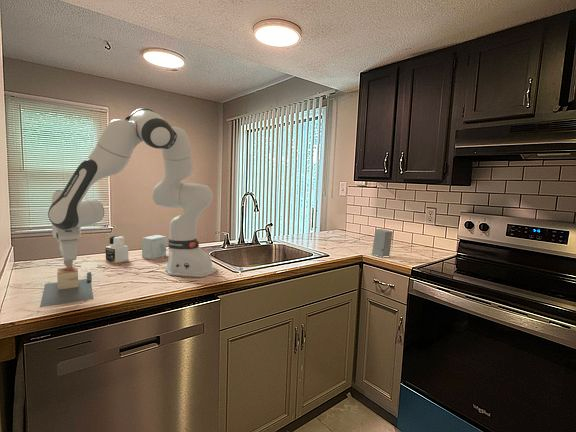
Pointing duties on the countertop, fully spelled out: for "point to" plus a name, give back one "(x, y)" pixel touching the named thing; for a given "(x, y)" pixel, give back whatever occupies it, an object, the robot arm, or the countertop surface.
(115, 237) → the medicine bottle
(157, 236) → the skincare box
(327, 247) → the countertop surface
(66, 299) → the rubber mat
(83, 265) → the spatula
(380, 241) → the skincare box
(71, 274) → the birch cube
